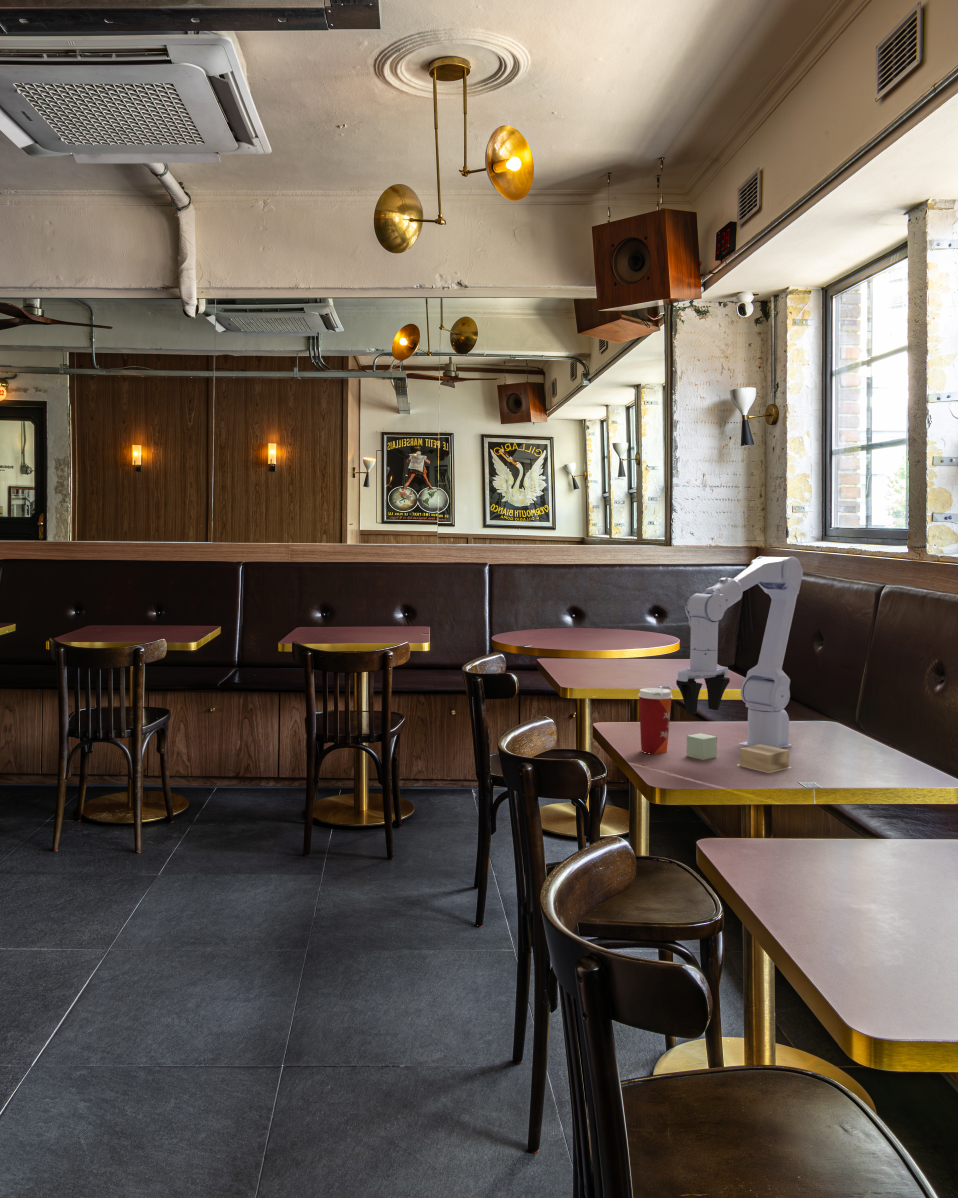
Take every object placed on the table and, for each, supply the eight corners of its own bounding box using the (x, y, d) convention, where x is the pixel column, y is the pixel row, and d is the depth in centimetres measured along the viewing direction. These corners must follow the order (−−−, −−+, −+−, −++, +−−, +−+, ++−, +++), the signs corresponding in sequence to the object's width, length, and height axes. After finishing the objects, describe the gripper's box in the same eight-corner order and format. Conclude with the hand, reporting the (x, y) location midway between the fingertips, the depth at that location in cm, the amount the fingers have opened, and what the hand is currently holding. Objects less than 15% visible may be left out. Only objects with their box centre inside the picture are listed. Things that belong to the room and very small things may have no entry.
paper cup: (674, 756, 191) (676, 693, 190) (639, 756, 191) (640, 692, 190) (667, 748, 199) (669, 687, 198) (634, 747, 199) (635, 687, 198)
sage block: (699, 755, 193) (700, 733, 192) (716, 759, 189) (717, 736, 189) (686, 758, 190) (686, 735, 190) (703, 762, 186) (703, 739, 186)
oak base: (759, 760, 186) (760, 744, 186) (788, 767, 181) (789, 750, 181) (739, 765, 182) (739, 748, 182) (768, 772, 177) (768, 755, 176)
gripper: (710, 645, 196) (708, 705, 196) (667, 649, 187) (665, 712, 188) (736, 648, 190) (734, 710, 191) (693, 652, 181) (692, 717, 182)
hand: (702, 711), depth 189 cm, fingers open, 7 cm apart
